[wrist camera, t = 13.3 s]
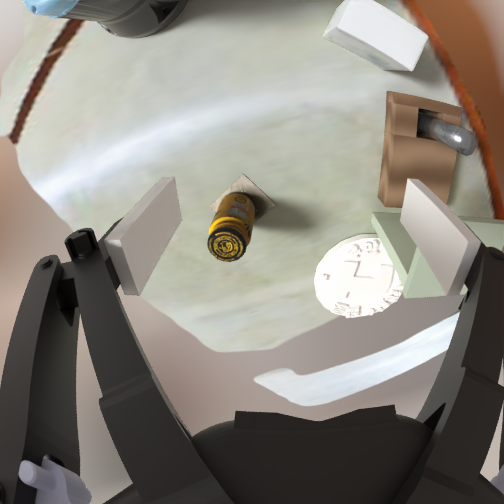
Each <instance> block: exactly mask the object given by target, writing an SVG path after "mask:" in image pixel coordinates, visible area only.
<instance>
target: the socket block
mask: <svg viewBox="0 0 504 504" xmlns="http://www.w3.org/2000/svg"><path fill="white" fill-rule="evenodd" d="M418 108H422V109H426V110H431V116H433V117H436V118H439V119H441V120H444V121H447V122H449V123H452V124H454V125H457V126H459V127H460V125H461V114H462V108H461V107H457V106H454V105H450V104H447V103H443V102H439V101H435V100H431V99H426V98H422V97H417V96H413V95H408V94H402V93H397V92H391V91H387V100H386V121H385V135H384V147H383V158H382V167H381V175H380V183H379V191H378V198H379V199H380V201H381V202H382V203H383V205H384V206H385V207H396V208H402V207H403V202H404V196H405V191H406V185H407V179H408V178H410V179H419V180H420V181H421V182H422V183H423V184H424V185H425V186H427V187H428V188H429V189H430V190H431V191H432V192H433V193H434V194H435V195H436V196H437V197H438V198H440V199H441V200H442V201H443V202H444V203H445V204H446V205H447V201H448V196H449V192H450V187H451V183H452V178H453V173H454V167H455V161H456V155H457V151H456V150H454V149H452V148H451V147H449V146H447V145H445V144H443V143H441V142H439V141H437V140H436V139H434V138H432V137H430V136H427V135H421V134H416V133H417V122H418Z"/></svg>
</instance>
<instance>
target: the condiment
mask: <svg viewBox="0 0 504 504" xmlns="http://www.w3.org/2000/svg"><path fill="white" fill-rule="evenodd" d="M241 191H243V192H241ZM274 205H275V204H274V203H273V202H272V201H271V200H270V199H269V198H268V197H267V196H266V195H265V194H264V193H263V192H262V191H261V190H260V189H259V188H258V187H257V186H256V185H254V184H253V183H252V182H251V181H250V180H249V179H248V178H247V177H246V176H245V175H244V174H243V175H242V176H241V177H240V178H239V179H238V180H237V181H236V182H235V183H234V184H233V185H232V186H231V187H230V188H229V189H227V190H226V191H225V192H224V193H223V194H222V195H221V196H220V197H219V198H218V199H217V200H216V201H215V202H214V203H213V204H212V205H211V206H210V207H209V208H210V209H211V210H213V211H214V212H215V213H216V214H215V217H214V219H213V221H212V224H211V226H210V230H209V239H208V249H209V251H210V253H211V254H212V255H213V256H214V257H216V258H217V259H219V260H221V261H228V262H231V261H235V260H238V259H239V258H240V257H242V256H243V255H244V253H245V252H246V251H245V250H246V247H247V246H248V244H249V242H250V239H251V234H252V229H253V223H254V222H255V221H256V220H258V219H259V218H260V217H261V216H262V215H264V214H265V213H266V212H267V211H268V210H270V209H271V208H272V207H273V206H274ZM256 210H257V211H256Z"/></svg>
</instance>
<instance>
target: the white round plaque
mask: <svg viewBox="0 0 504 504" xmlns="http://www.w3.org/2000/svg"><path fill="white" fill-rule="evenodd" d="M314 284H315V289H316V295H317V298H318V299H319V301H320V302H321V303H322V305H323V306H324V307H325V308H326V309H328V310H330V311H331V313H335V314H338V315H343V316H346V318H349V317H358V316H366V315H373V313H376V312H378V311H381V312H382V311H383V309H386V308H387V307H388V306H389V305H390V304H392V303H393V302H396V301H397V300H398V298H399V297H400V295H401V294H402V291H403V288H404V287H403V285H402V283H401V281H400V279H399V277H398V274H397V272H396V270H395V268H394V266H393V264H392V262H391V260H390V258H389V256H388V254H387V252H386V250H385V248H384V246H383V244H382V242H381V240H380V238H379V237H378V235H377V234H360V235H357V236H354V237H351V238H348V239H346V240H343V241H341V242H340V243H339V244H337V245H336V246H334V247H333V248H332V249H330V250H329V251H328V252H327V253H326V254H325V256H324V257H323V258H322V260H321V261H320V263H319V264H318V266H317V270H316V273H315V277H314Z"/></svg>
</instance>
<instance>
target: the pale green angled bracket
mask: <svg viewBox="0 0 504 504" xmlns="http://www.w3.org/2000/svg"><path fill="white" fill-rule="evenodd" d="M400 217H401V214H399V213H376V212H373V213H372V219H371V224H372V225H373V227H374V229H375V231H376V233H377V235H378V237H379V238H380V240H381V242H382V244H383V246H384V248H385V250H386V252H387V254H388V256H389V258H390V260H391V262H392V264H393V266H394V268H395V270H396V272H397V274H398V277H399V279H400V281H401V283H402V285H403V287H404V288H403V291H402V293H403V295H404V297H405V298H419V297H434V296H446V294H445V292H444V290H443V289H442V287H441V285H440V283H439V281H438V280H437V278H436V276H435V275H434V273H433V271H432V270H431V268H430V266H429V265H428V263H427V261H426V260H425V258H424V257H423V255H422V253H421V252H420V250H419V249H418V247H417V246H416V244H415V243H414V241H413V240H412V238H411V237H410V235H409V234H408V232H407V231H406V229H405V228H404V226H403V225H402V224H401V222H400ZM458 217H459V218H460V219H461V220H462V221H463V222H464V223H465V224H467V226H468V227H469V228H470V229H471V231H473V232H474V233H475V235H477V237H478V238H479V239H480V240H481V241H482V242H483V243H484V244H485V246H486V247H494V248H497V249H499V250H500V251H502V248H503V246H504V220H496V219H486V218H476V217H464V216H458ZM467 290H468V289H467V287H466V285H465V284H464V285H463V287H462V290H461V292H460V294H466V292H467ZM460 294H459V295H460Z"/></svg>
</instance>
